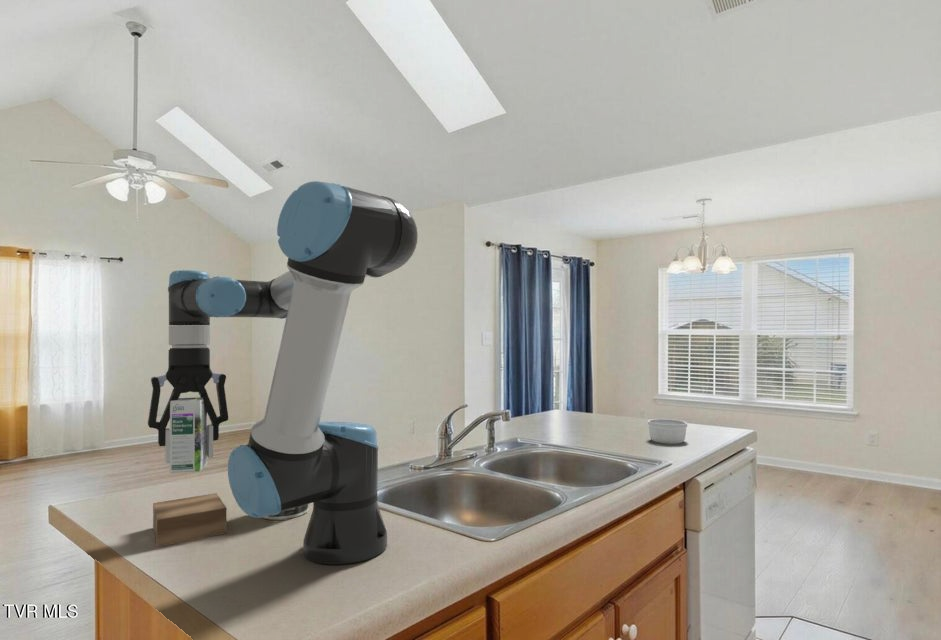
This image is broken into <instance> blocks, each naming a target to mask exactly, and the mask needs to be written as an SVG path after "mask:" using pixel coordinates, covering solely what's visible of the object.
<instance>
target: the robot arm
mask: <svg viewBox="0 0 941 640" xmlns="http://www.w3.org/2000/svg"><path fill="white" fill-rule="evenodd" d="M278 216H279V218H278V221H277V226H276V227H277V228H276V234H277V237H278V238H279V239H277V243H278V247H279V248H280V251H281V252H282V253H283V254H284V256H286V257H287V262H286V267H287V269H288V271H287V272H285V273H283V274H281V275H279V276H277V277H275V278H273V279H271V280H270V281H264V280H262V281H259V280H247V279H246V280H245V279H243V280H242V279H235V278H232V277H227V276H213V277H210V275H209V273H208V272H206V271H203V270H201V271H200V270H192V269H191V270H187V269H186V270H185V269H182V270H173V271H171V273H170V274H169V279H168V287H167V292H168V345H169V346H171V348H169V350H168V365H167V366H168V368H167V371H166V372H165V374H164V375H159V376H152V377H151V378H150V382H151V386H152V391H151V392H152V393H151V400H150V406H149V412H148V420H147V425H148V427H149V428H150V429H155V430H157V431H158V432H157V433H158V435H157V436H158V437H157V438H158V439H157V442H158V446H159V447H164V455H163V456H164V457H163V459H164V462H165V463H164V464H170V428H169V427H167V426H168V423H170V401H173V400H178V398H180V396H181V394H187V393H189V392H192V393H198V395H199V397H201V398H203V401H204V404H205V408H206V411H207V417H209V420H210V422H211V423H209V424H208V423H207V458H208V459H214V441H218V440H219V439H220V436H219V435H220V434H219V433H220V431H219V429H220V428H219V427H220V424H222V423H224V422H227V421H229V412H228V405H227V397H226V391H225V384H226V380H227V375H226V374H225V373H216V372H215V373H214V372H213V371H212V370H211V348H209V347H208V345H210V343H211V335H210V334H211V332H210V331H211V327H210V325H211V322H210V321H211V320H210V319H211V318H260V319H261V318H262V319H263V318H264V319H265V318H268V319H269V318H270V319H285V322H284V325H283V326H284V327H283V331H282V336H281V340H280V345H279V349H278V353H277V359H276V362H275V367H274V372H273V376H272V381H271V386H270V390H269V395H268V399H267V405H266V408H265V413H264V417H263V418H262V419H260V420H259V421H256V422H255V424H253V426H252V427H251V431H250V433H249V434H250V435H249V437H248V438H249V439H248V443H247V444H240V445H239V446H238V447H235V448H234V449H232V451H231V452H230V454H229V457H228V461H227V476H228V484H229V486H230V490H231V492H232V496H233V499H234V500H235V502H236V504H237V505H238V507H239V508H240V510H241V511H243V513H245V514H246V515H248V516H249V517H252V518H258V519H260V518H262V517H265V516H269V515H277V514H279V513H280V512H283V511H287V510H290V509H293V508H296V507H299V506H303V505H306V504H308V505H310V504H313V506H312V507H313V508H312V513H311V516H310V518H309V521H308V524H307V528H306V530H305V534H304V537H303V542H302V543H303V546H302V551H303V556H304V557H305V558H306V559H307V560H309V561H311V562H314V563H317V564H321V565H322V564H323V565H347V564H355V563H359V562H363V561H367V560H369V559H370V560H371V559H373V558H376V556H378V555H380V554H382V553H383V552H384V551H385V550H386V549H387V547H388V531H387V527H386V524H385V522H384V520H383V516H382V513H381V510H380V507H379V503H378V501H379V500H378V470H379V469H378V468H379V467H378V463H379V462H378V460H379V458H378V451H379V445H378V438H377V430H376V429H375V428H374V426H372V425H369V424H366V423H361V422H359V423H358V422H347V421H321V418H322V413H323V409H324V404H325V401H326V397H327V392H328V390H329V389H328V388H329V385H330V380H331V375H332V372H333V369H334V364H335V359H336V355H337V351H338V348H339V343H340V339H341V335H342V331H343V326H344V323H345V318H346V315H347V309H348V306H349V302H350V297H351V294H352V292H353V291H354V290H355V289H358V288H360V287H361V286H363V285H364V283H365V278H366V277H370V278H375V279H376V278H381V277H383V276H385V275H388V274H389V273H392V272H394V271H396V270H398V269H400V268H401V267H403V266H404V265H405V264H406V263H408V261H409V260H411V257H412V256H413V255H414V253H415V250H416V248H417V245H418V237H419V236H418V235H419V234H418V227H417V224H416V222H415V219H414V217H413V215H412V214H411V212H410V211H409V210H408V209H407V207H405V205H403V204H402V203H400V202H399V201H397V200H396V199H393V198H390V197H387V196H383V195H377V194H374V193H370V192H368V191H364V190H360V189H356V188H351V187H349V186H344V185H341V184H340V183H332V182H326V181H325V182H324V181H320V180H317V181H315V180H314V181H308V182H306V183H303V184H302V185H300V186H298V188H297V189H295V190H293V192H291V194H290V195H289V196H288V197H287V199H286V201H285V202H284V204H283V207H282V209H281V211H280V214H279V215H278ZM211 379H212V381H213V383H214V384H215V385H216V386H215V387H216V394H217V402H218V410H219V416H217V413H216V411H215V409H214V406H213V404H212V402H211V399H210V397H209V394H208V391H207V389H206V385H207V384H208V383H209V381H210V380H211ZM166 381H167V382H168V383H169V384H170V385H171V386H172V387H173V388H172V392H171V394H170V396H169V399H168V401H167V404H166V406H165V408H164V411H163V412H162V413H163V414H162V415H161V418H160V420H159V421H157V418H158V412H159V411H158V410H159V404H160V399H161V398H160V397H161V392H162V391H161V388H162V387H163V386H164V385H165V382H166Z"/></svg>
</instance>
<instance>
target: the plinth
mask: <svg viewBox="0 0 941 640" xmlns="http://www.w3.org/2000/svg"><path fill="white" fill-rule="evenodd" d="M152 504H153V505H152V509H153V510H152V514H153V515H152V528H153V532H154V538H155V542H156V546H157V547H162V546H167V545H172V544H179V543H182V542H187V541H192V540H198V539H202V538H206V537H207V538H208V537H212V536H213V537H214V536H217V535H222V534H223V535H224V534H226V533H227V507H226V505H225V504H224V502H223V501H222V499H221V498H220V496H219V494H218V492H215V493H208V494H203V495H196V496H191V497H184V498H177V499H172V500H165V501H164V500H163V501H158V502H153V503H152Z"/></svg>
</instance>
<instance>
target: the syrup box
mask: <svg viewBox="0 0 941 640" xmlns="http://www.w3.org/2000/svg"><path fill="white" fill-rule="evenodd" d="M207 425H208V413H207V411H206V408H205V404H204V401H203V398H201V397H200V396H199V397H198V396H197V397H179V398H178V400H173V401H170V419H169V427H170V428H169V429H170V463H169V474H174V473H175V474H176V473H194V472H195V473H196V472H198V473H199V472H201V471H202V470H203V469H204V468H205V467H206V466H207V464H208V456H207Z"/></svg>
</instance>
